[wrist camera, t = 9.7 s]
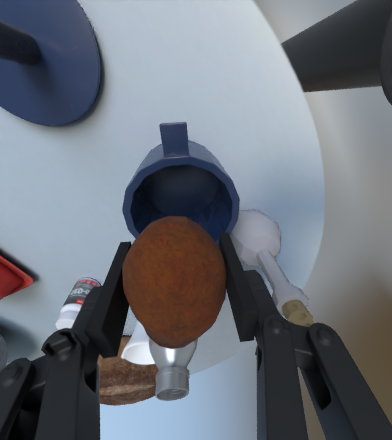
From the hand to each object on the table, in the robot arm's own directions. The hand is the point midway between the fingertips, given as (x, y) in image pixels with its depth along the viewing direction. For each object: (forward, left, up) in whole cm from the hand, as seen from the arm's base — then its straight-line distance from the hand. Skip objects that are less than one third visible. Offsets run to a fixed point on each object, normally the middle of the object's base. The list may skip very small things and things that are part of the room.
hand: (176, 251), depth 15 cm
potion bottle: (-12, +10, -16) cm, 22 cm away
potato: (0, 0, 0) cm, 0 cm away
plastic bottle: (+2, +17, -16) cm, 23 cm away
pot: (-1, +1, -16) cm, 16 cm away
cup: (+9, +31, -16) cm, 36 cm away
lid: (+13, -15, -15) cm, 26 cm away
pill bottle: (+20, +21, -16) cm, 33 cm away
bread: (+20, +53, -16) cm, 59 cm away
